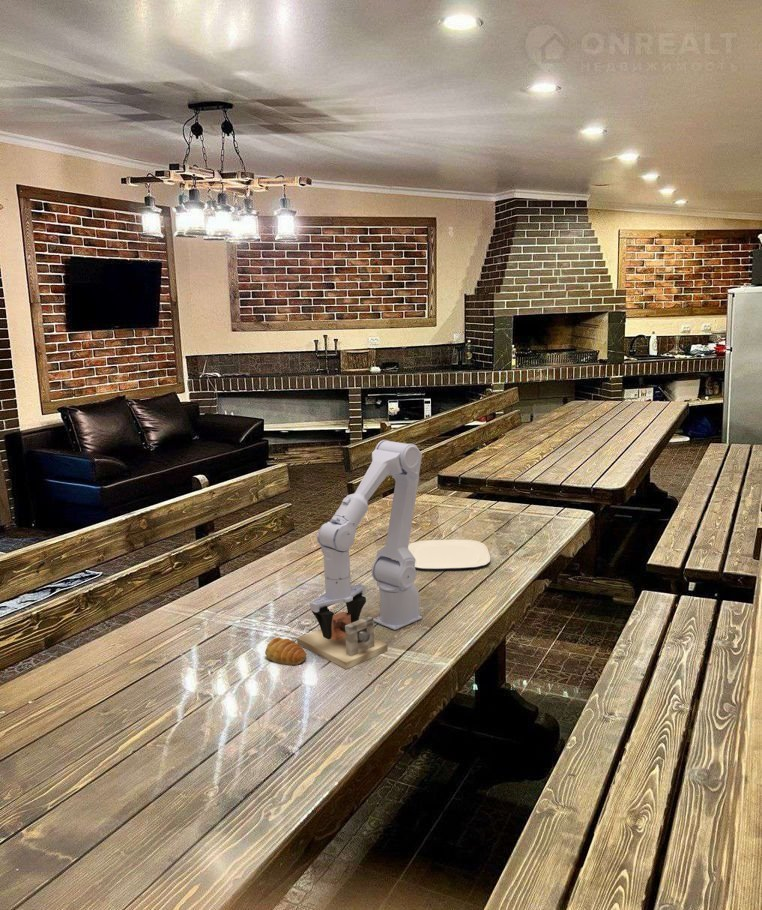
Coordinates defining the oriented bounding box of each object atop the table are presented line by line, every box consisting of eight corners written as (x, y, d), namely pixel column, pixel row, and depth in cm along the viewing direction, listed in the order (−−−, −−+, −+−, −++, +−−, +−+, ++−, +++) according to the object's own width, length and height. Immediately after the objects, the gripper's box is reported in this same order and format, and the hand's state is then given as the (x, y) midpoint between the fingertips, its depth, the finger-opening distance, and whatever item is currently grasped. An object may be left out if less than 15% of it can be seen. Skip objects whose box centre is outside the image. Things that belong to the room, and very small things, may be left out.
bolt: (344, 630, 175) (343, 611, 174) (374, 644, 168) (373, 624, 167) (329, 636, 172) (328, 617, 171) (359, 651, 165) (358, 630, 164)
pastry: (314, 658, 169) (312, 642, 168) (293, 670, 164) (292, 654, 163) (282, 647, 174) (281, 632, 174) (261, 659, 169) (260, 643, 168)
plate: (494, 571, 217) (494, 566, 217) (405, 574, 218) (405, 568, 218) (484, 543, 242) (484, 538, 242) (404, 545, 243) (404, 540, 242)
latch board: (337, 627, 183) (336, 595, 182) (387, 650, 171) (386, 616, 169) (297, 644, 176) (295, 610, 174) (346, 669, 163) (344, 633, 161)
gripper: (323, 589, 162) (326, 648, 165) (373, 570, 172) (376, 627, 174) (303, 580, 167) (306, 638, 170) (353, 563, 177) (355, 618, 180)
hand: (340, 632), depth 173 cm, fingers open, 7 cm apart
